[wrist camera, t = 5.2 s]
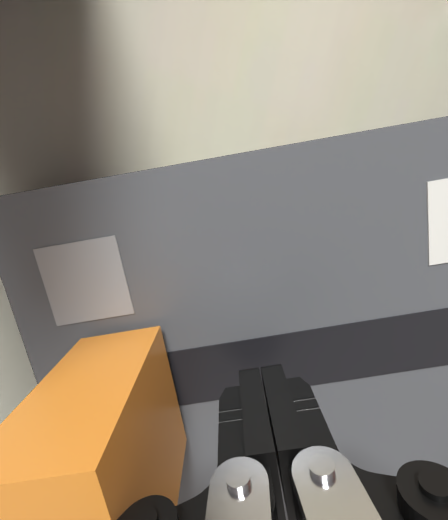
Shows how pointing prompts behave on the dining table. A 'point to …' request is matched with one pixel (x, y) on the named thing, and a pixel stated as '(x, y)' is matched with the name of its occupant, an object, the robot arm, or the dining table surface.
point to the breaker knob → (95, 433)
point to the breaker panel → (259, 282)
